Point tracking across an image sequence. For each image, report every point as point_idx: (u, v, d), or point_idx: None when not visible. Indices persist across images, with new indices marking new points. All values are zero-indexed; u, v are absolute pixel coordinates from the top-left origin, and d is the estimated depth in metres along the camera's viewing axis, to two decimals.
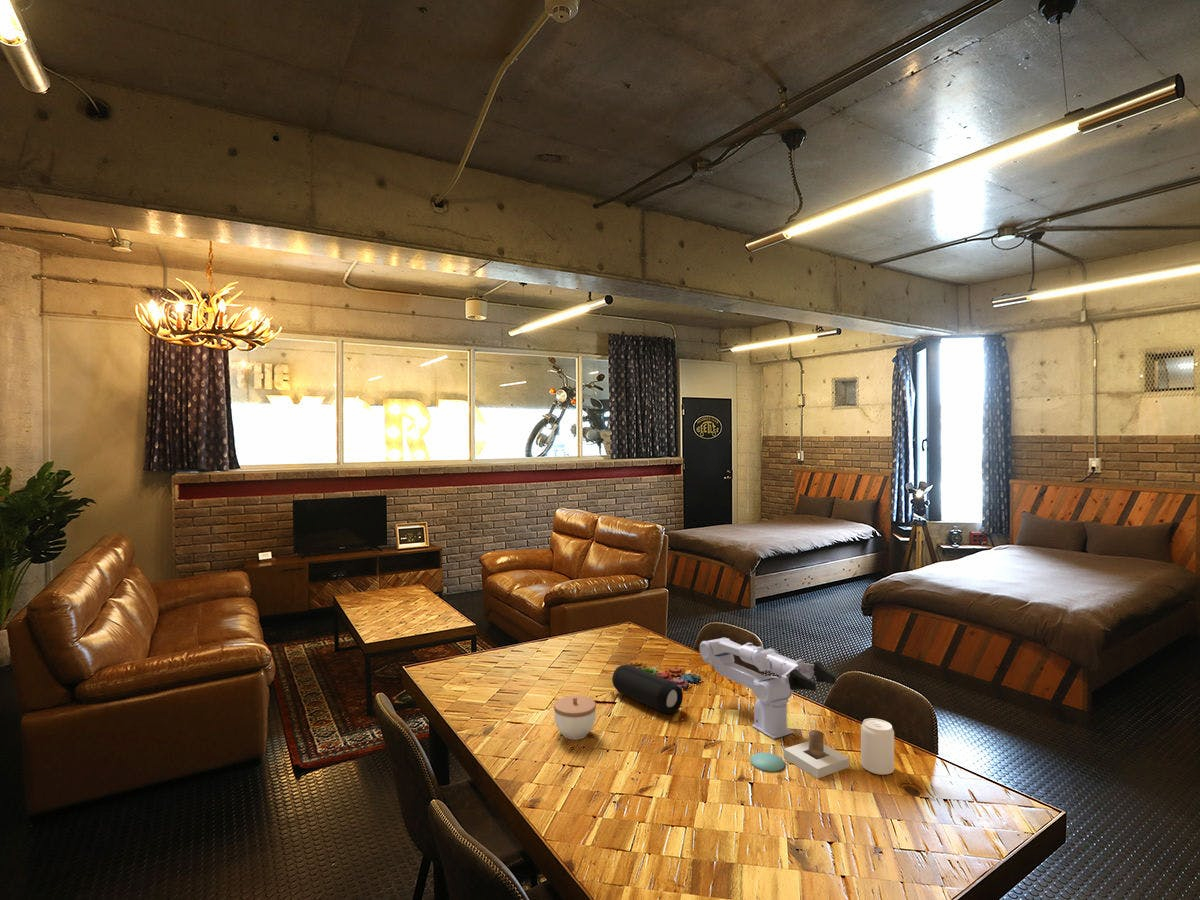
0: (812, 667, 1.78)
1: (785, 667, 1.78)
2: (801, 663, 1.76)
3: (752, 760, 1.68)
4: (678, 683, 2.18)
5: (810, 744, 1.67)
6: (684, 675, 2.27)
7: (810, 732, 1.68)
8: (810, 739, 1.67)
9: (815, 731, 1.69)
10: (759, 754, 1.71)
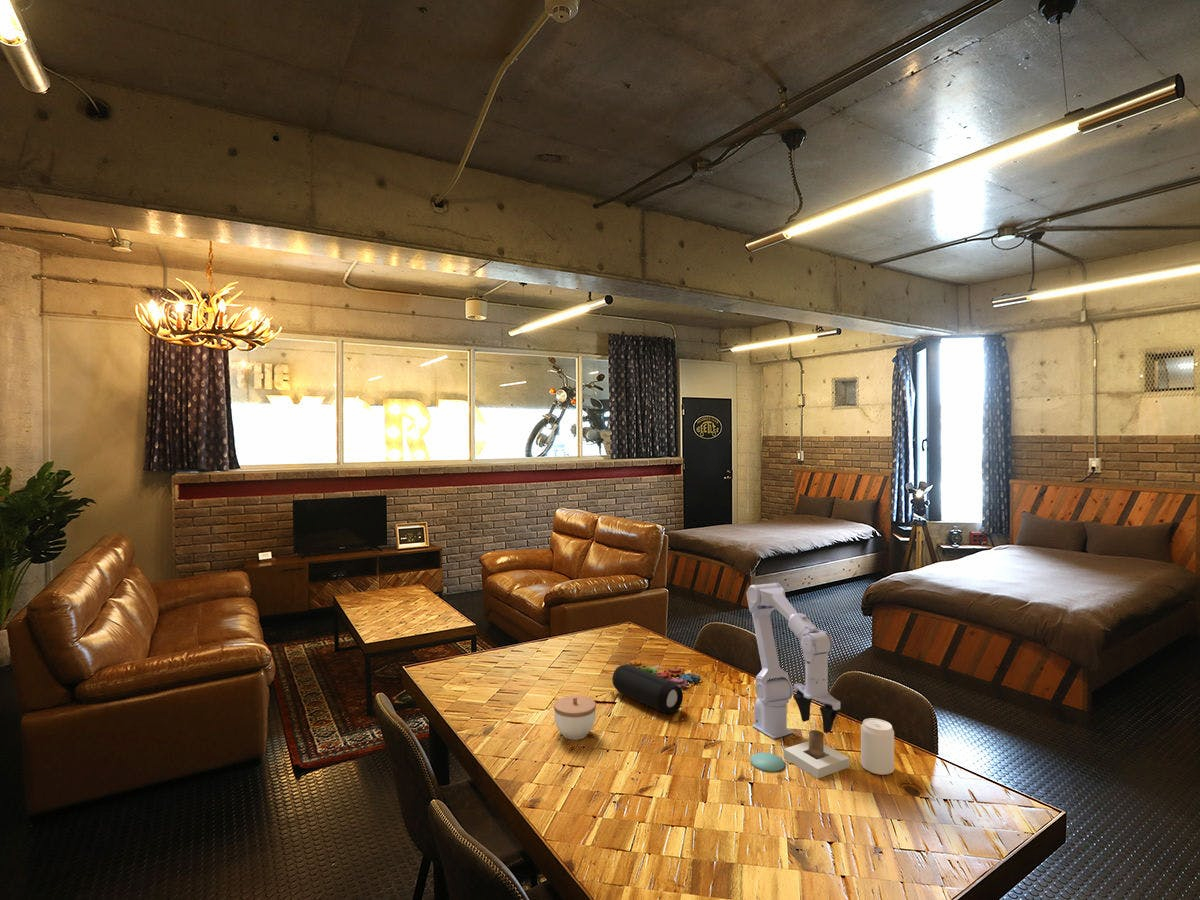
0: None
1: None
2: None
3: (752, 760, 1.68)
4: (678, 683, 2.18)
5: (810, 744, 1.67)
6: (683, 675, 2.27)
7: (810, 732, 1.68)
8: (810, 739, 1.67)
9: (815, 731, 1.69)
10: (759, 754, 1.71)
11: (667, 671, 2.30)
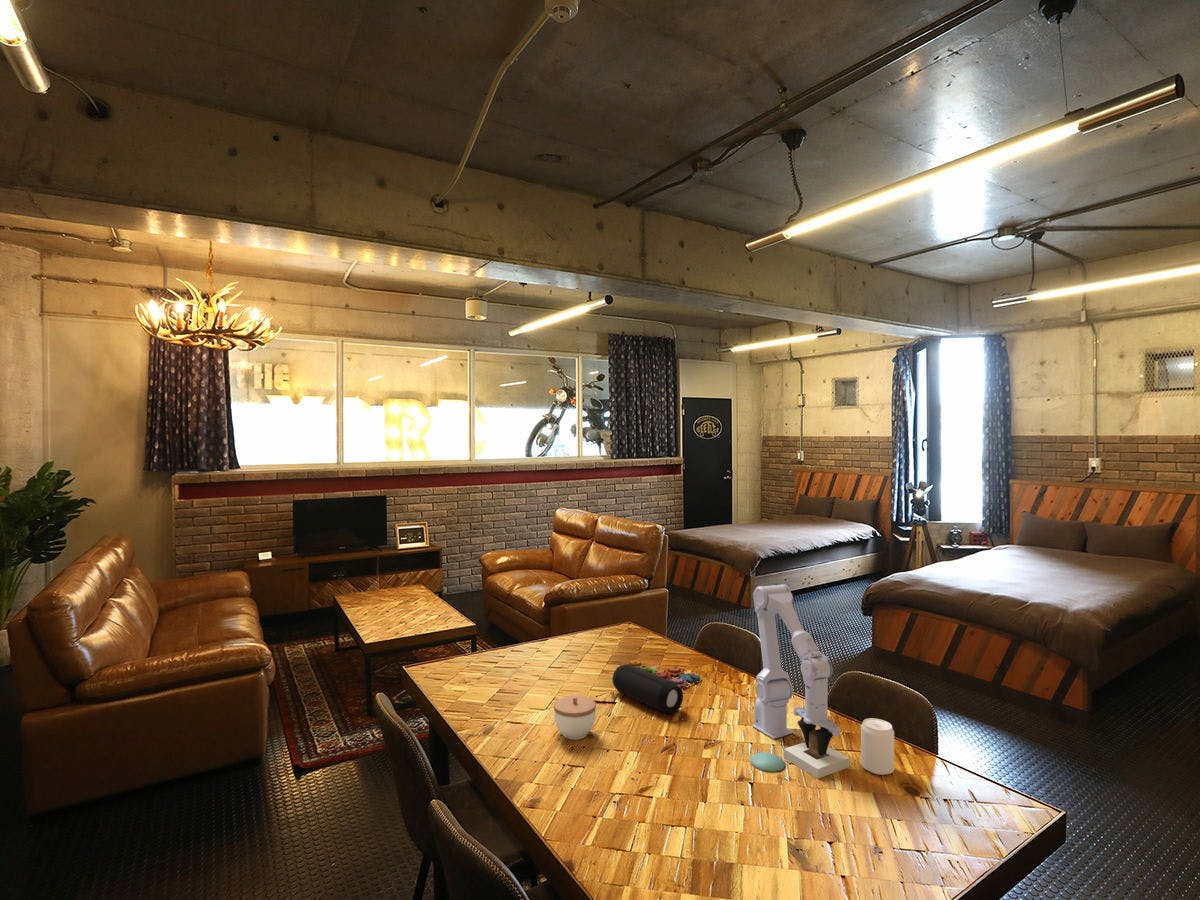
0: None
1: None
2: None
3: (752, 760, 1.68)
4: (677, 683, 2.18)
5: (810, 744, 1.67)
6: (683, 675, 2.27)
7: (810, 732, 1.68)
8: (810, 739, 1.67)
9: None
10: (759, 754, 1.71)
11: (667, 671, 2.31)
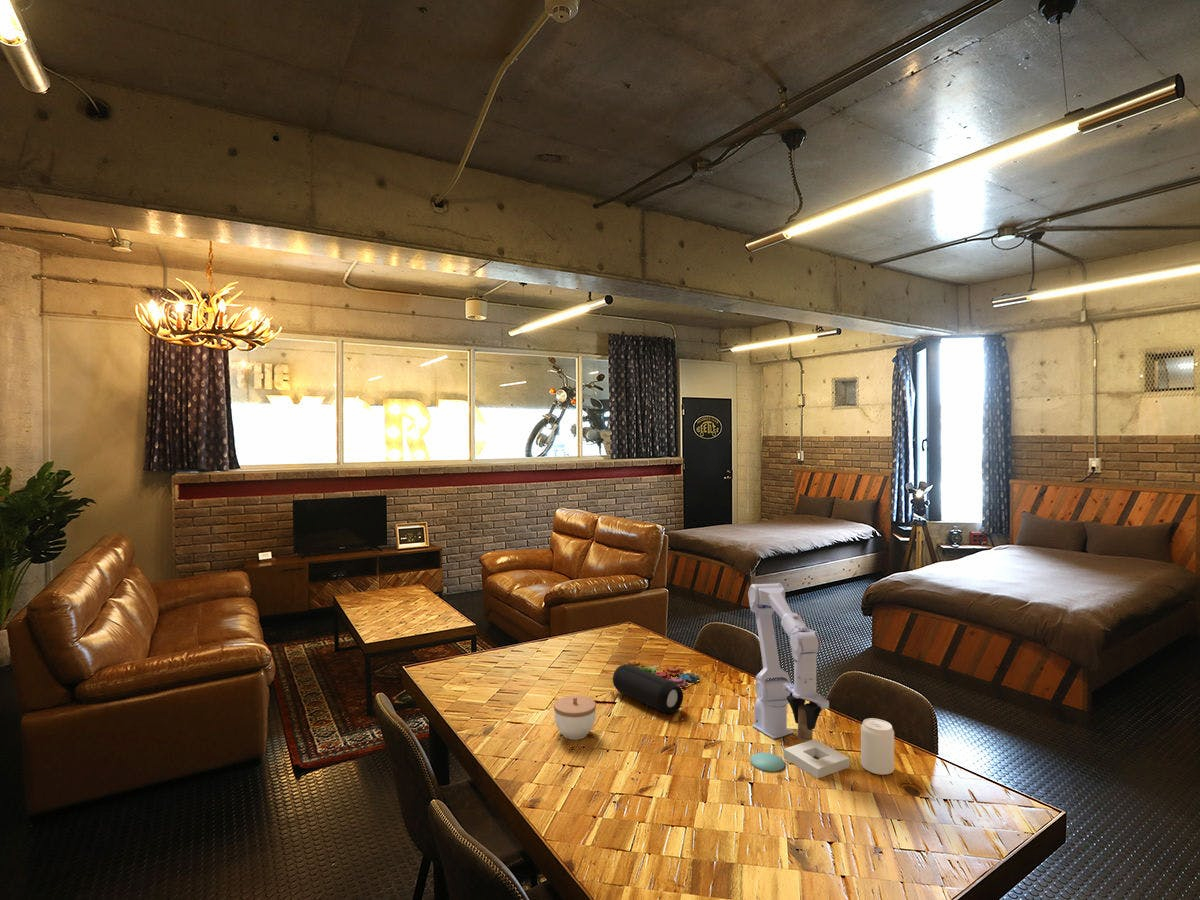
0: None
1: None
2: None
3: (752, 760, 1.68)
4: (677, 682, 2.19)
5: (799, 719, 1.67)
6: (682, 674, 2.27)
7: (799, 707, 1.68)
8: (799, 713, 1.67)
9: None
10: (759, 754, 1.71)
11: (666, 671, 2.31)
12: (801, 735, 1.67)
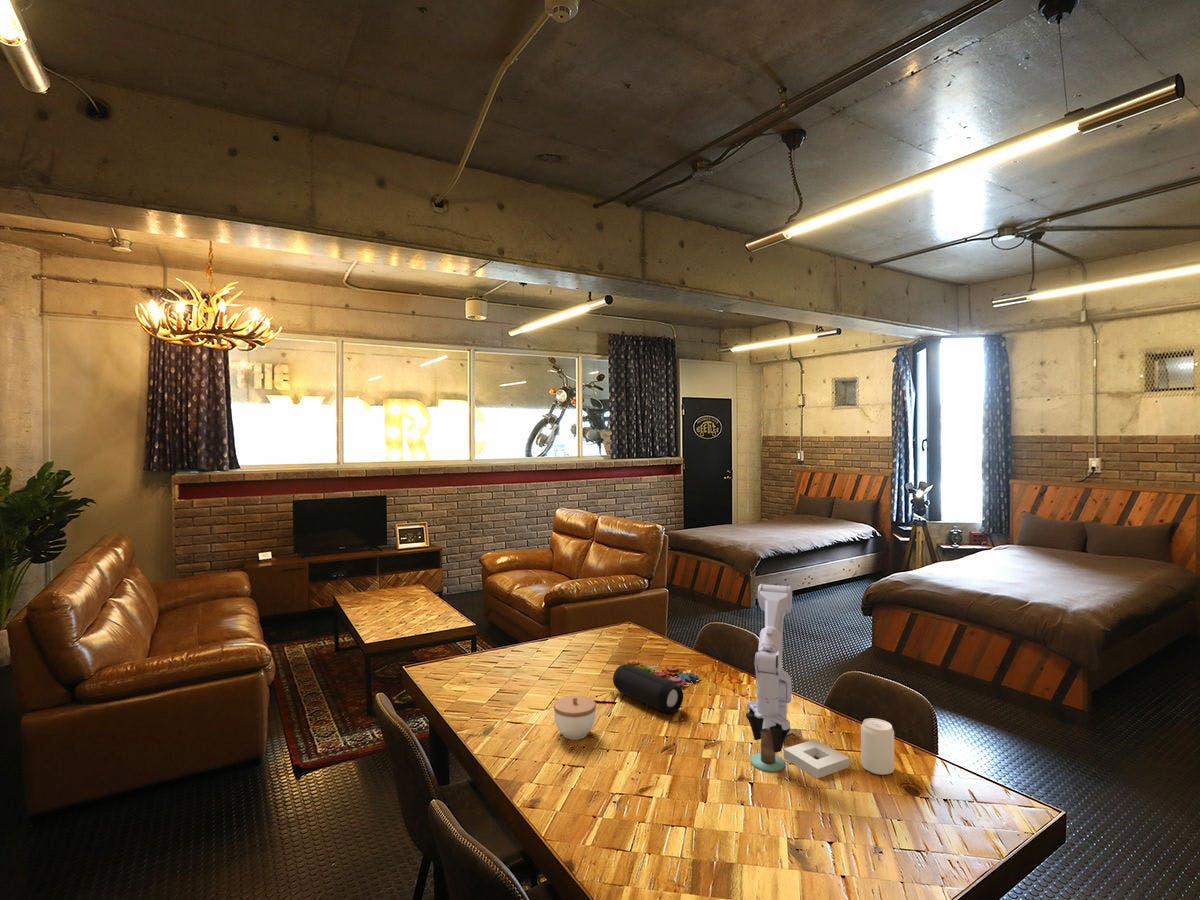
0: None
1: None
2: None
3: (752, 760, 1.68)
4: (676, 682, 2.19)
5: (761, 742, 1.67)
6: (681, 674, 2.28)
7: (762, 730, 1.68)
8: (761, 737, 1.67)
9: (768, 729, 1.69)
10: (759, 754, 1.71)
11: (665, 670, 2.31)
12: (763, 758, 1.67)
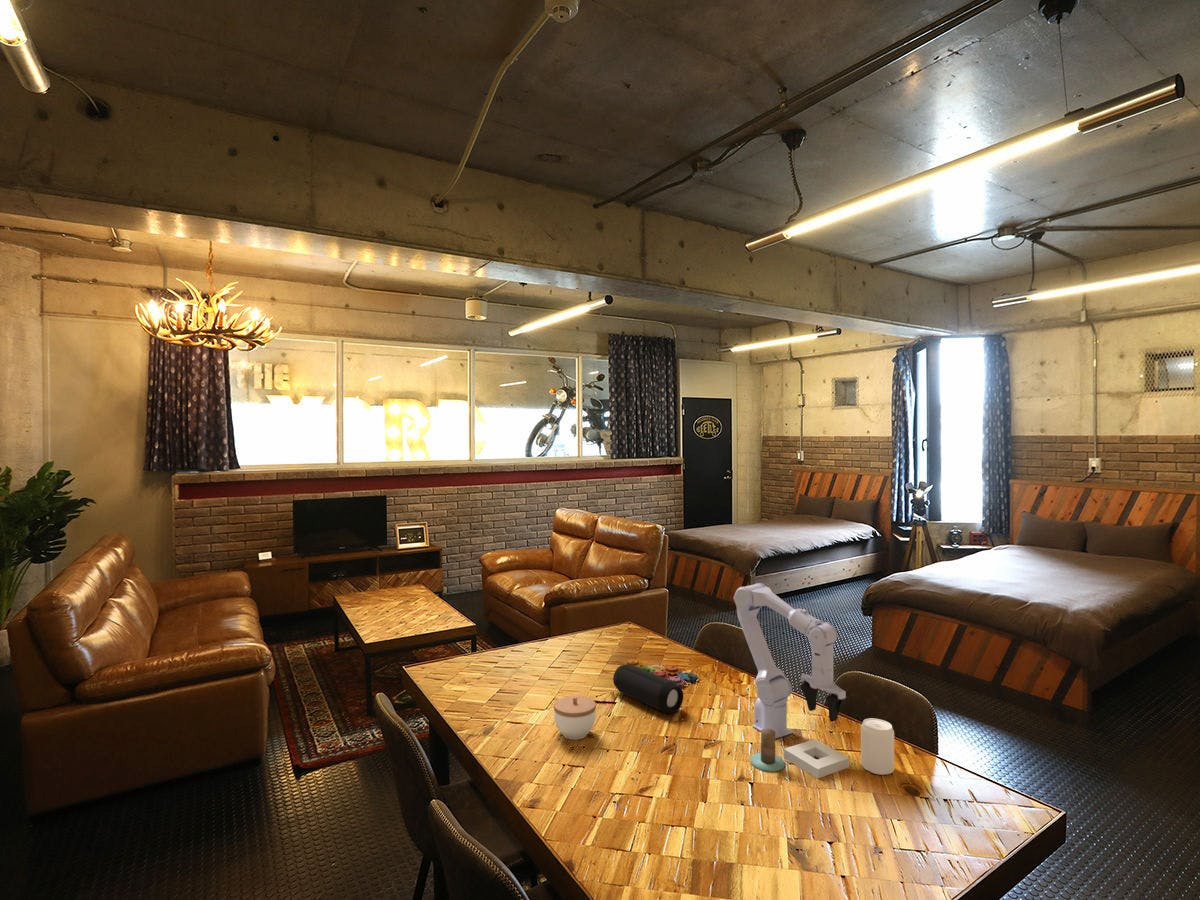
0: None
1: None
2: None
3: (752, 760, 1.68)
4: (675, 682, 2.19)
5: (761, 742, 1.67)
6: (681, 674, 2.28)
7: (762, 730, 1.68)
8: (762, 737, 1.67)
9: (768, 729, 1.69)
10: (759, 754, 1.71)
11: (664, 670, 2.31)
12: (763, 758, 1.67)
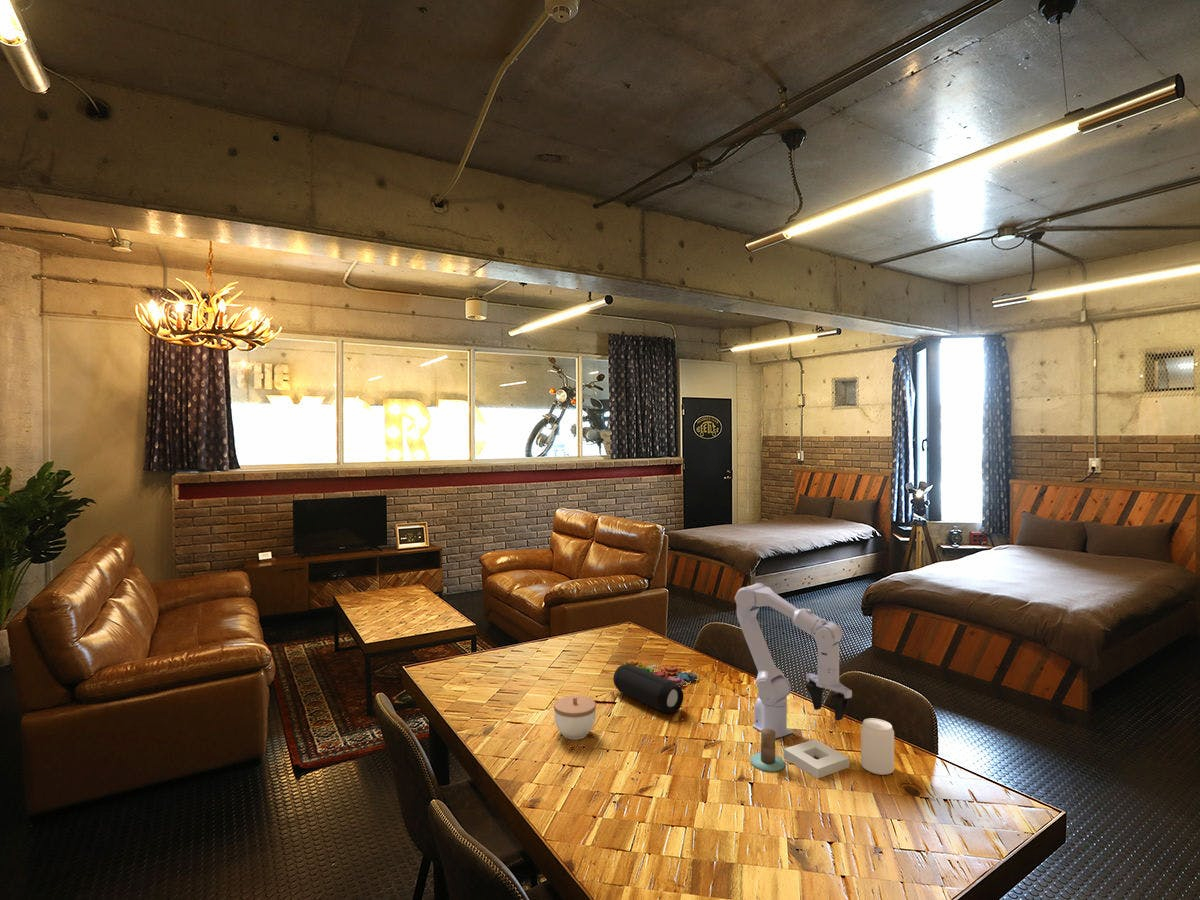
0: None
1: None
2: None
3: (752, 760, 1.68)
4: (675, 681, 2.19)
5: (761, 742, 1.67)
6: (680, 674, 2.28)
7: (762, 730, 1.68)
8: (762, 737, 1.67)
9: (768, 729, 1.69)
10: (759, 754, 1.71)
11: (664, 670, 2.31)
12: (763, 758, 1.67)
